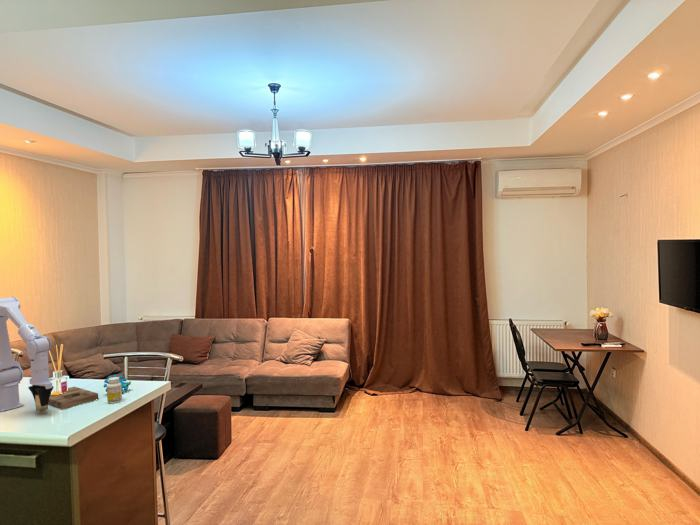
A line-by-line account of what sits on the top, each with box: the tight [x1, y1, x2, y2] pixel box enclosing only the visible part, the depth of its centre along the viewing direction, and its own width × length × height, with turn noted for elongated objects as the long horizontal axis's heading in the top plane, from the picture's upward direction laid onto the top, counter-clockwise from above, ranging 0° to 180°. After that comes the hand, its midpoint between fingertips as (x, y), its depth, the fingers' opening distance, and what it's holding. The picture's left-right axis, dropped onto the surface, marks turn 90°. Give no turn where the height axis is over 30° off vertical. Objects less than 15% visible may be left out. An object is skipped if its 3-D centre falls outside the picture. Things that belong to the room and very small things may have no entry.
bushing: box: [34, 394, 49, 412], centre depth 184 cm, size 4×4×6 cm
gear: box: [103, 374, 132, 395], centre depth 208 cm, size 11×6×10 cm
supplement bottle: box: [106, 376, 123, 404], centre depth 195 cm, size 5×5×10 cm
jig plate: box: [48, 386, 99, 410], centre depth 199 cm, size 20×14×2 cm
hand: (41, 404), depth 184 cm, fingers closed on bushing, 4 cm apart
